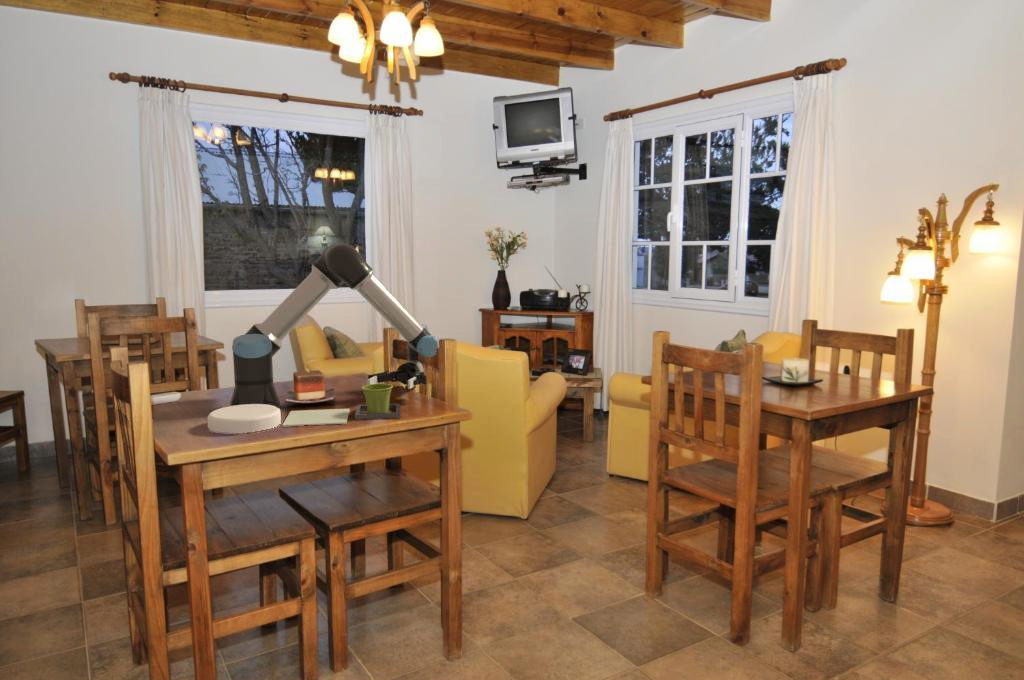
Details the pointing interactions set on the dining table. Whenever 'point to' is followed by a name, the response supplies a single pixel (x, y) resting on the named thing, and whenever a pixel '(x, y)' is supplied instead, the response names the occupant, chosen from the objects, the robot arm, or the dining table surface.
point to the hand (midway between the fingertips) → (388, 384)
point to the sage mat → (316, 417)
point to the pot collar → (377, 415)
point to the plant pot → (377, 397)
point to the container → (244, 418)
